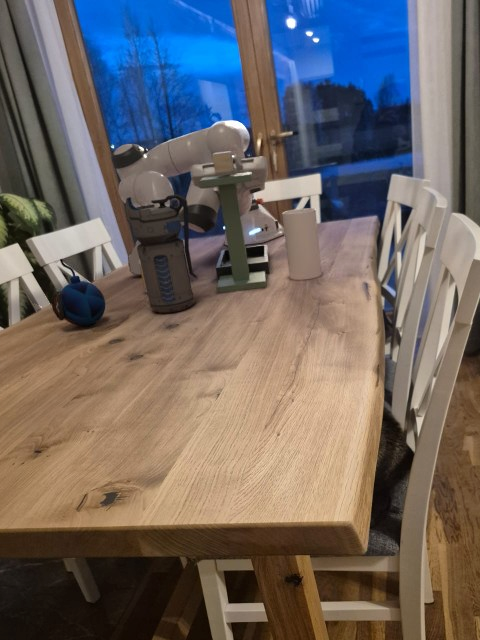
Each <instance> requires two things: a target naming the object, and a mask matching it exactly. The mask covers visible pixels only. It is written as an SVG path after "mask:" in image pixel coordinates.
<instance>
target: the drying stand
mask: <svg viewBox="0 0 480 640" xmlns="http://www.w3.org/2000/svg"><path fill="white" fill-rule="evenodd" d="M250 181H252V172H245V173H237V174H229V175H221V176H213V177H205V178H202V179H201V180H199V186H200V188H202V187H210V186H218V188H219V194H220V200H221V204H220V206H221V211H222V217H223V218H222V219H223V223H224V227H225V229H224V232H225V231H226V237H227V243H228V245H227V248H228V249H229V255H230V262H231V268H232V274H233V275H226V276H220V278H219V280H218V281H217V285H216V292H217V294H222V293H229V292H237V291H238V292H239V291H246V290H253V289H262V288H267V274H266V273H265V271H258V272H250V273H249V267H248V260H247V254H246V247H247V246H246V245H245V240H244V234H243V227H242V220H241V214H240V207H239V200H238V194H237V187H236V183H242V182H250Z"/></svg>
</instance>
